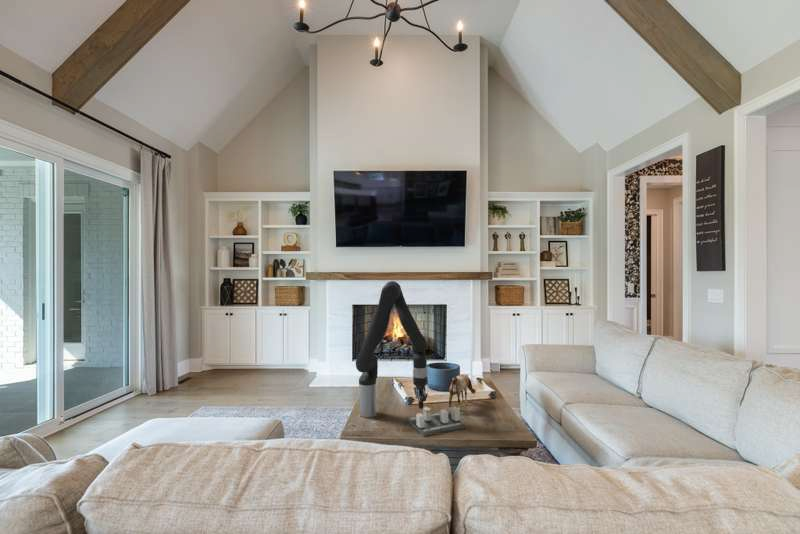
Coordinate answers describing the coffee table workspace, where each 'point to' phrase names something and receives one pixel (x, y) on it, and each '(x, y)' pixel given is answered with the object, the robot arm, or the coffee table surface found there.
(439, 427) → the panel
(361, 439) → the coffee table surface
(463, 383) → the horse figurine
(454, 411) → the breaker
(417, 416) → the breaker
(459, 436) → the coffee table surface
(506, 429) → the coffee table surface
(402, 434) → the coffee table surface
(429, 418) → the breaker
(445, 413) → the breaker
